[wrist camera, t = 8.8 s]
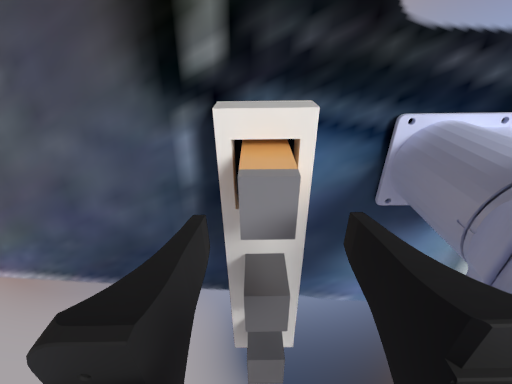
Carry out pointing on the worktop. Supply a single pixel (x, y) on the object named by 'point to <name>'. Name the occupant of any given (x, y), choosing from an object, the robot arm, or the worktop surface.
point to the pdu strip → (264, 251)
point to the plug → (268, 190)
